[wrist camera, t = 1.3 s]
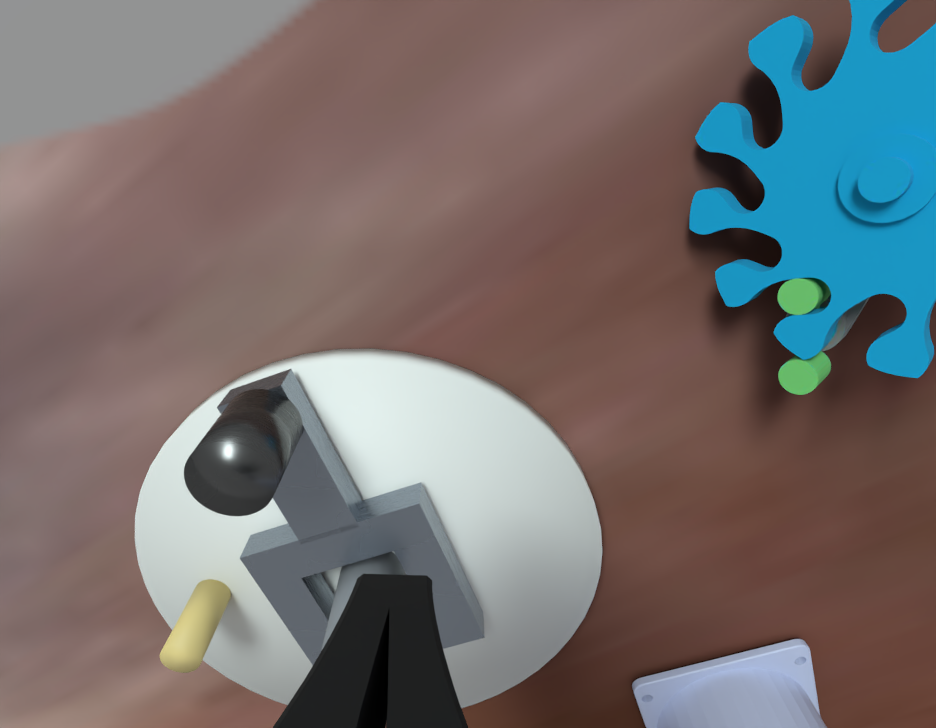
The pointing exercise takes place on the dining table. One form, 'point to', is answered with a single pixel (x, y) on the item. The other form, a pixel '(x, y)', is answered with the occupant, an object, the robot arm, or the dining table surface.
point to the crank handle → (317, 513)
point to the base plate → (375, 473)
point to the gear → (837, 194)
